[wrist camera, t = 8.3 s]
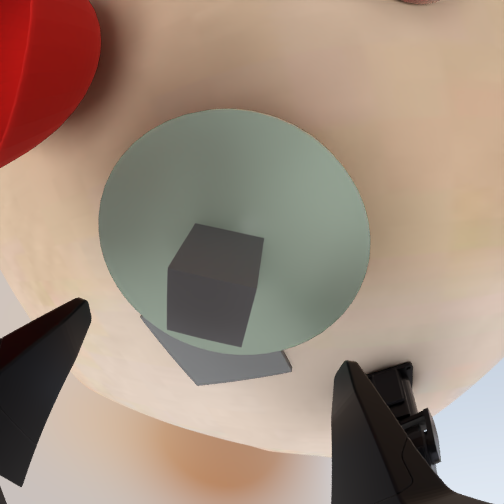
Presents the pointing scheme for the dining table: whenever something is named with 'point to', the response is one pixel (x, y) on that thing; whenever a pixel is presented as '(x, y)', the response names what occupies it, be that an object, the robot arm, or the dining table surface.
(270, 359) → the mat
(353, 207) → the lid
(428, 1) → the soda can
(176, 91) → the dining table surface
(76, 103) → the ceramic cup
